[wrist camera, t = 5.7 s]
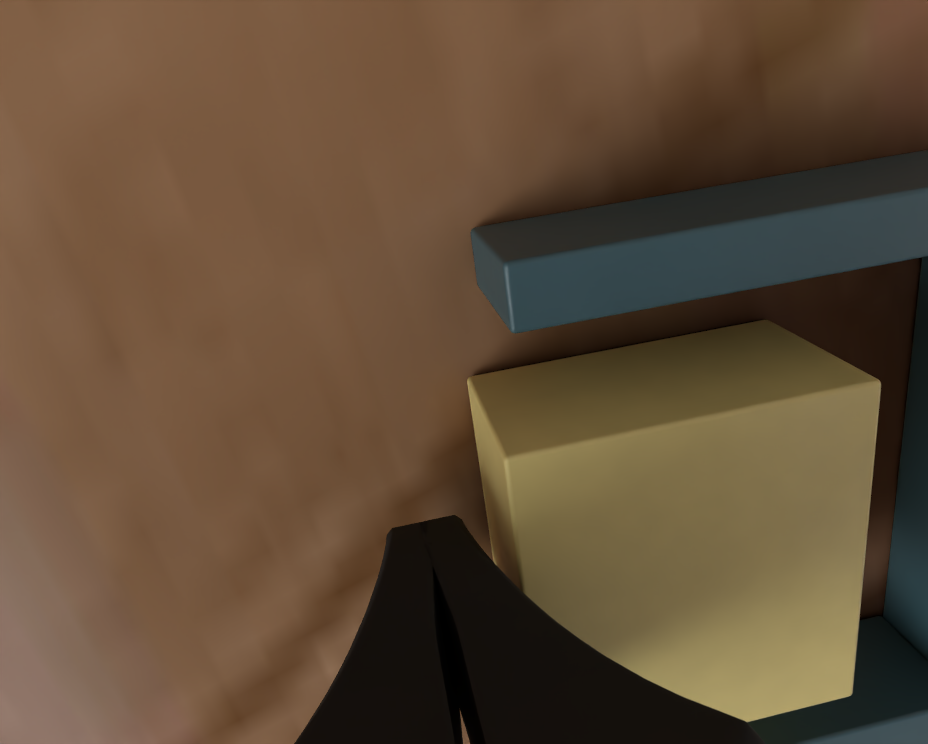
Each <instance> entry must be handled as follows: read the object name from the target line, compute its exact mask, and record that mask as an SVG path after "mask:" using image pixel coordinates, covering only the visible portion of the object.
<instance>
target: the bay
mask: <svg viewBox="0 0 928 744" xmlns="http://www.w3.org/2000/svg"><path fill="white" fill-rule="evenodd" d="M471 240H472V247H473V255H474V262H475V270H476V277H477V284H478V286H479V288H480V289H481V291H482V292H483V293H484V295H485V296H486V298H487V299H488V300H489V302H490V303H491V305H492V306H493V307H494V309H495V310H496V311H497V313H498V314H499V316H500V317H501V318H502V320H503V321H504V323H505V324H506V325H507V327H508V328H509V330H510V331H511V332H512V333H521V332H526V331H531V330H537V329H542V328H547V327H553V326H558V325H563V324H569V323H574V322H579V321H585V320H590V319H595V318H601V317H606V316H611V315H617V314H622V313H627V312H633V311H638V310H643V309H649V308H654V307H659V306H665V305H670V304H675V303H681V302H686V301H691V300H697V299H702V298H707V297H713V296H718V295H724V294H729V293H734V292H740V291H745V290H750V289H756V288H761V287H766V286H772V285H777V284H782V283H788V282H793V281H798V280H804V279H809V278H814V277H820V276H825V275H830V274H836V273H841V272H846V271H852V270H857V269H862V268H868V267H873V266H878V265H884V264H889V263H894V262H900V261H905V260H910V259H916V258H921V257H922V263H921V272H920V281H919V291H918V300H917V309H916V318H915V327H914V336H913V346H912V355H911V364H910V373H909V382H908V391H907V401H906V410H905V419H904V428H903V437H902V446H901V456H900V465H899V474H898V483H897V492H896V502H895V511H894V520H893V529H892V538H891V547H890V557H889V566H888V575H887V584H886V593H885V602H884V612H883V617H882V616H875V617H871V618H867V619H863V620H859V629H858V640H857V651H856V662H855V672H854V683H853V693H852V695H851V696H849V697H845V698H841V699H837V700H833V701H829V702H825V703H821V704H817V705H813V706H809V707H805V708H801V709H797V710H793V711H789V712H785V713H781V714H777V715H774V716H770V717H766V718H762V719H758V720H754V721H750V722H747V723H748V724H749V725H750V726H751V727H752V728H753V730H754V731H755V732H756V733H757V734H758V735H759V736H760V738H761V739H762V740H763V741H764V742H765V743H766V744H928V150H924V151H918V152H912V153H906V154H901V155H895V156H889V157H883V158H877V159H871V160H866V161H860V162H854V163H848V164H842V165H836V166H830V167H825V168H819V169H813V170H807V171H801V172H795V173H790V174H784V175H778V176H772V177H766V178H760V179H755V180H749V181H743V182H737V183H731V184H725V185H720V186H714V187H708V188H702V189H696V190H690V191H685V192H679V193H673V194H667V195H661V196H655V197H650V198H644V199H638V200H632V201H626V202H620V203H614V204H609V205H603V206H597V207H591V208H585V209H579V210H574V211H568V212H562V213H556V214H550V215H544V216H539V217H533V218H527V219H521V220H515V221H509V222H504V223H498V224H492V225H486V226H480V227H475V228H473V229H472V230H471Z"/></svg>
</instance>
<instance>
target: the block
mask: <svg viewBox="0 0 928 744" xmlns="http://www.w3.org/2000/svg"><path fill="white" fill-rule="evenodd" d="M467 385H468V391H469V398H470V405H471V412H472V418H473V425H474V432H475V439H476V445H477V452H478V459H479V466H480V473H481V479H482V486H483V493H484V500H485V506H486V513H487V520H488V527H489V533H490V540H491V547H492V554H493V561H494V563H495V564H496V565H497V566H498V567H499V568H500V570H501V571H502V572H503V573H504V574H505V575H506V576H507V577H508V578H509V579H510V580H511V581H512V582H513V583H514V584H515V585H516V586H517V587H518V588H519V589H520V590H521V591H522V592H523V593H524V594H525V595H526V596H528V597H529V598H530V599H531V600H532V601H533V602H534V603H535V604H536V605H538V606H539V607H540V608H541V609H542V610H543V611H544V612H546V613H547V614H548V615H549V616H550V617H552V618H553V619H554V620H555V621H557V622H558V623H559V624H560V625H562V626H563V627H564V628H566V629H567V630H568V631H570V632H571V633H573V634H574V635H575V636H577V637H578V638H579V639H581V640H582V641H584V642H585V643H587V644H588V645H590V646H591V647H593V648H594V649H596V650H597V651H598V652H600V653H601V654H603V655H605V656H606V657H608V658H610V659H611V660H613V661H615V662H617V663H618V664H620V665H622V666H624V667H625V668H627V669H629V670H631V671H632V672H634V673H636V674H638V675H639V676H641V677H643V678H645V679H647V680H649V681H651V682H653V683H655V684H657V685H659V686H661V687H663V688H665V689H667V690H670V691H672V692H674V693H676V694H678V695H680V696H682V697H685V698H687V699H690V700H692V701H695V702H698V703H700V704H703V705H705V706H708V707H710V708H713V709H716V710H718V711H721V712H723V713H726V714H728V715H731V716H734V717H736V718H739V719H741V720H744V721H746V722H750V721H754V720H758V719H762V718H766V717H770V716H774V715H777V714H781V713H785V712H789V711H793V710H797V709H801V708H805V707H809V706H813V705H817V704H821V703H825V702H829V701H833V700H837V699H841V698H845V697H849V696H851V695H852V693H853V683H854V672H855V662H856V651H857V640H858V629H859V619H860V608H861V597H862V586H863V576H864V565H865V554H866V544H867V533H868V522H869V511H870V501H871V490H872V479H873V468H874V458H875V447H876V436H877V426H878V415H879V404H880V393H881V382H880V380H878V379H877V378H875V377H873V376H871V375H869V374H867V373H865V372H864V371H862V370H860V369H858V368H856V367H854V366H852V365H851V364H849V363H847V362H845V361H843V360H841V359H839V358H838V357H836V356H834V355H832V354H830V353H828V352H827V351H825V350H823V349H821V348H819V347H817V346H815V345H814V344H812V343H810V342H808V341H806V340H804V339H802V338H801V337H799V336H797V335H795V334H793V333H791V332H789V331H788V330H786V329H784V328H782V327H780V326H778V325H776V324H775V323H773V322H771V321H769V320H760V321H755V322H750V323H745V324H740V325H734V326H729V327H724V328H719V329H714V330H709V331H703V332H698V333H693V334H688V335H683V336H678V337H672V338H667V339H662V340H657V341H652V342H646V343H641V344H636V345H631V346H626V347H621V348H615V349H610V350H605V351H600V352H595V353H590V354H584V355H579V356H574V357H569V358H564V359H559V360H553V361H548V362H543V363H538V364H533V365H527V366H522V367H517V368H512V369H507V370H502V371H496V372H491V373H486V374H481V375H476V376H471V377H469V378H468V380H467Z"/></svg>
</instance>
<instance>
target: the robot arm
mask: <svg viewBox="0 0 928 744" xmlns="http://www.w3.org/2000/svg"><path fill="white" fill-rule="evenodd" d="M460 711H461V714H462V717H463V721H464V724H465V727H466V731H467V734H468V737H469V740H470V744H766V743H765V742H764V741H763V740H762V739H761V738H760V736H759V735H758V734H757V733H756V732H755V731H754V730H753V728H752V727H751V726H750V725H749V724H748V723H747V722H746V721H744V720H741V719H739V718H736V717H734V716H731V715H728V714H726V713H723V712H721V711H718V710H716V709H713V708H710V707H708V706H705V705H703V704H700V703H698V702H695V701H692V700H690V699H687V698H685V697H682V696H680V695H678V694H676V693H674V692H672V691H670V690H667V689H665V688H663V687H661V686H659V685H657V684H655V683H653V682H651V681H649V680H647V679H645V678H643V677H641V676H639V675H638V674H636V673H634V672H632V671H631V670H629V669H627V668H625V667H624V666H622V665H620V664H618V663H617V662H615V661H613V660H611V659H610V658H608V657H606V656H605V655H603V654H601V653H600V652H598V651H597V650H596V649H594V648H593V647H591V646H590V645H588V644H587V643H585V642H584V641H582V640H581V639H579V638H578V637H577V636H575V635H574V634H573V633H571V632H570V631H568V630H567V629H566V628H564V627H563V626H562V625H560V624H559V623H558V622H557V621H555V620H554V619H553V618H552V617H550V616H549V615H548V614H547V613H546V612H544V611H543V610H542V609H541V608H540V607H539V606H538V605H536V604H535V603H534V602H533V601H532V600H531V599H530V598H529V597H528V596H526V595H525V594H524V593H523V592H522V591H521V590H520V589H519V588H518V587H517V586H516V585H515V584H514V583H513V582H512V581H511V580H510V579H509V578H508V577H507V576H506V575H505V574H504V573H503V572H502V571H501V570H500V568H499V567H498V566H497V565H496V564H495V563H494V562H493V561H492V560H491V559H490V558H489V556H488V555H487V554H486V553H485V552H484V550H483V549H482V548H481V547H480V546H479V544H478V543H477V542H476V540H475V539H474V538H473V537H472V535H471V534H470V532H469V531H468V529H467V528H466V526H465V525H464V523H463V521H462V519H460V518H459V517H457V516H455V515H452V516H447V517H442V518H438V519H433V520H428V521H424V522H419V523H414V524H409V525H405V526H400V527H395V528H392V529H391V530H390V532H389V533H388V534H387V538H386V546H385V552H384V556H383V561H382V565H381V568H380V572H379V575H378V579H377V582H376V585H375V588H374V590H373V593H372V596H371V599H370V602H369V605H368V608H367V610H366V613H365V616H364V618H363V620H362V623H361V625H360V627H359V629H358V632H357V634H356V636H355V639H354V641H353V643H352V646H351V648H350V650H349V652H348V654H347V656H346V658H345V660H344V662H343V664H342V666H341V668H340V670H339V672H338V674H337V676H336V678H335V679H334V681H333V683H332V685H331V686H330V688H329V690H328V692H327V694H326V695H325V697H324V699H323V700H322V702H321V703H320V705H319V707H318V708H317V710H316V711H315V713H314V715H313V716H312V718H311V719H310V721H309V723H308V724H307V726H306V727H305V729H304V730H303V732H302V733H301V735H300V736H299V738H298V739H297V741H296V742H295V743H294V744H463V738H462V728H461V718H460Z"/></svg>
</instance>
